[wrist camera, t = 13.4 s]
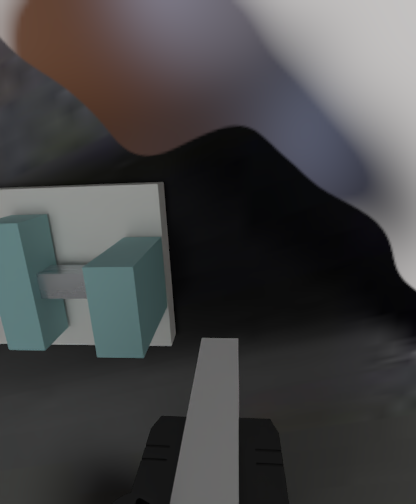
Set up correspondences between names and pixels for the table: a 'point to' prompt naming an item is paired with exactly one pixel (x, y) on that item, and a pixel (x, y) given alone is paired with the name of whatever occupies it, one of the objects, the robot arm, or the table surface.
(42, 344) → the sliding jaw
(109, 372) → the table surface
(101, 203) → the base
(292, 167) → the table surface
